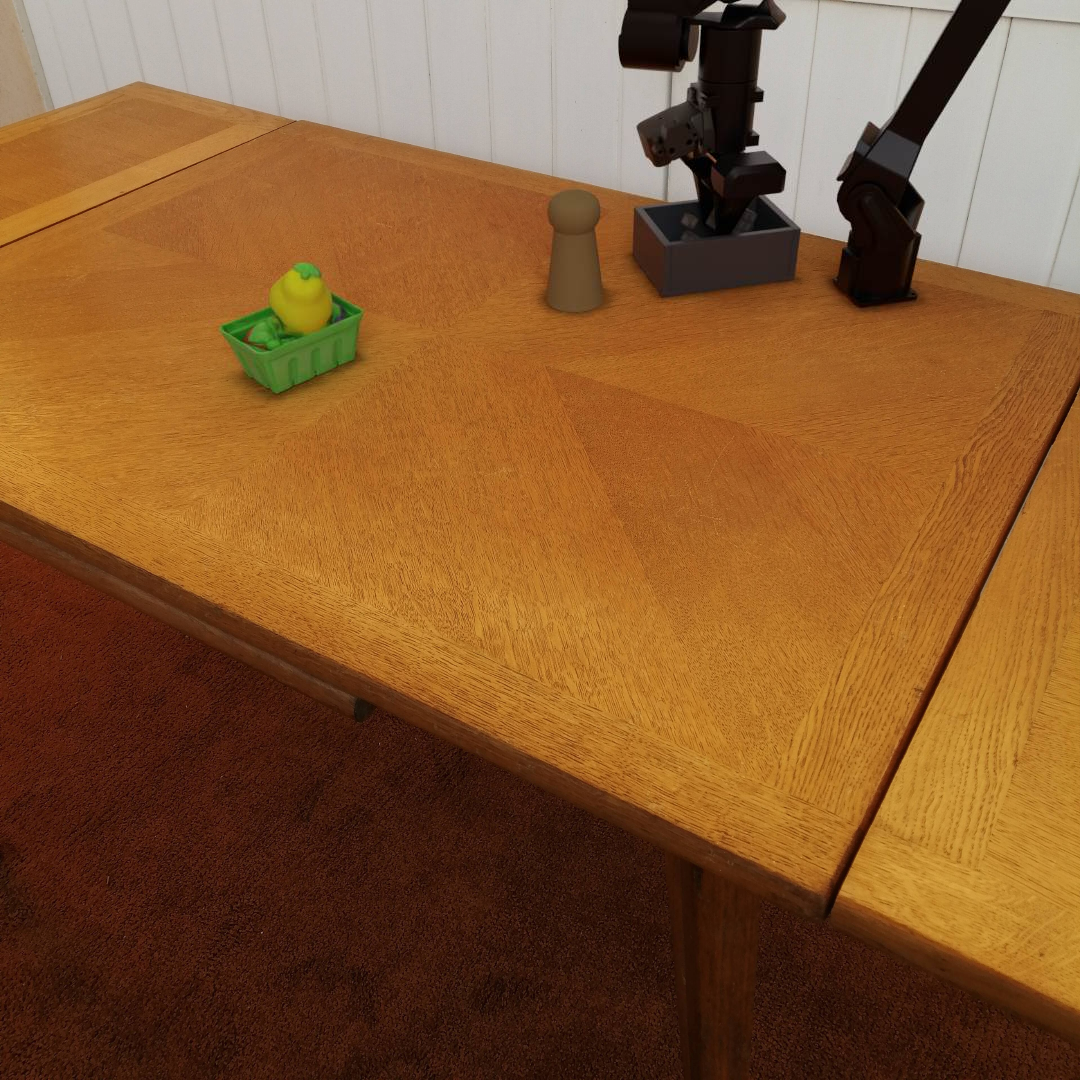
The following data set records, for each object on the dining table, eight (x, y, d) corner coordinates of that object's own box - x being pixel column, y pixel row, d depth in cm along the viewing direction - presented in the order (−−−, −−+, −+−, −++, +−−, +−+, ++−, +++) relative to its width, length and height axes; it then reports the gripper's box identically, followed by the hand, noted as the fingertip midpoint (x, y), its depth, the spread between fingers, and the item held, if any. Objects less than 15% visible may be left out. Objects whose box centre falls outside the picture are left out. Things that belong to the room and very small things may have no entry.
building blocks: (757, 215, 105) (710, 197, 100) (731, 262, 108) (684, 247, 102) (738, 202, 107) (690, 184, 102) (712, 249, 110) (665, 233, 104)
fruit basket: (327, 332, 100) (307, 222, 92) (382, 363, 95) (365, 249, 88) (228, 376, 94) (197, 262, 87) (280, 411, 89) (253, 293, 82)
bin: (755, 240, 113) (761, 191, 110) (794, 279, 105) (801, 228, 102) (632, 255, 111) (633, 206, 108) (662, 297, 103) (664, 245, 100)
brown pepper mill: (599, 314, 101) (599, 207, 94) (540, 310, 102) (536, 204, 95) (608, 287, 105) (609, 183, 98) (551, 283, 107) (549, 181, 99)
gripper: (619, 58, 102) (617, 208, 112) (678, 113, 88) (670, 279, 98) (723, 48, 103) (711, 197, 113) (798, 100, 89) (777, 265, 99)
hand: (714, 232), depth 106 cm, fingers closed on building blocks, 4 cm apart
